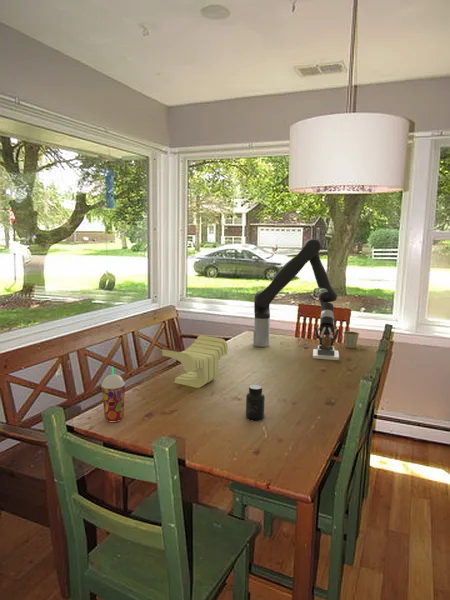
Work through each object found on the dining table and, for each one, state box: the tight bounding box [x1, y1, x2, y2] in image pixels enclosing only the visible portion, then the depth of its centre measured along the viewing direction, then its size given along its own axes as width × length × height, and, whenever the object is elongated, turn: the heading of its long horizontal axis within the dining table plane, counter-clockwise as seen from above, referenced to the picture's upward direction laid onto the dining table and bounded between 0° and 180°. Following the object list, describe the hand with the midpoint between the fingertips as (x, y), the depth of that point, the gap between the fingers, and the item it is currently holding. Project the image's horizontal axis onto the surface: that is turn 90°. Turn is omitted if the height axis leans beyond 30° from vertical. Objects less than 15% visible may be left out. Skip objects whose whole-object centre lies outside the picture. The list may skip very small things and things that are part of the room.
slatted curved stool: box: [161, 334, 229, 389], centre depth 198 cm, size 30×16×18 cm, turn 151°
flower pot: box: [342, 330, 360, 349], centre depth 261 cm, size 9×9×9 cm
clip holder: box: [312, 344, 340, 361], centre depth 242 cm, size 14×14×4 cm
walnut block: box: [321, 335, 331, 350], centre depth 242 cm, size 5×4×8 cm
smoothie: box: [100, 366, 126, 422], centre depth 157 cm, size 8×8×20 cm
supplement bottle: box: [245, 384, 266, 422], centre depth 161 cm, size 7×7×12 cm
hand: (326, 344), depth 240 cm, fingers closed on walnut block, 4 cm apart
